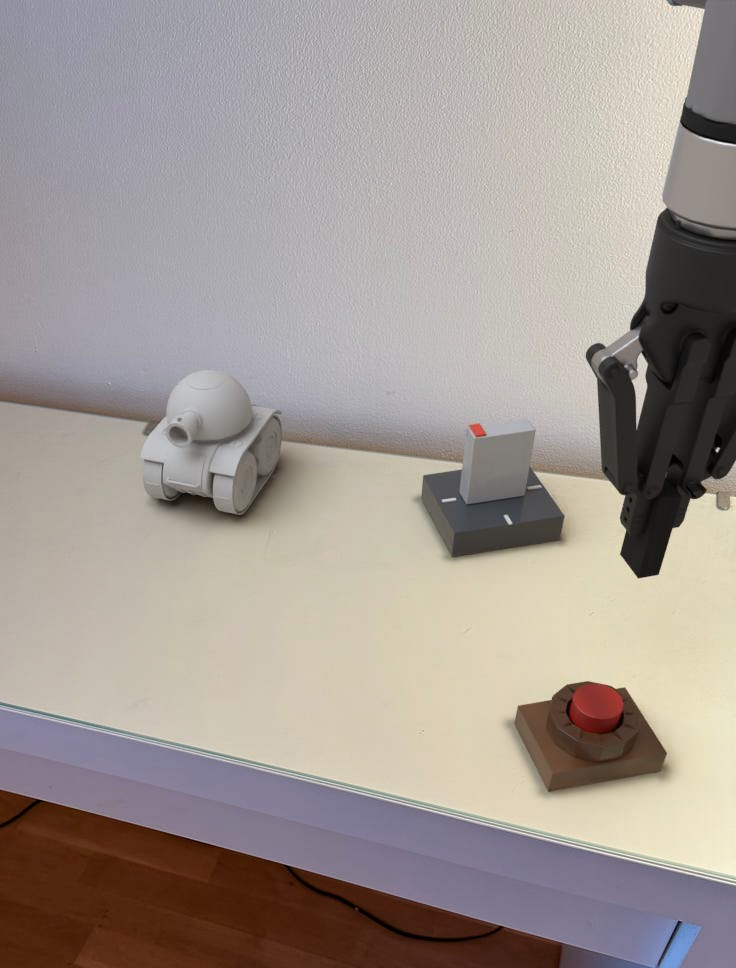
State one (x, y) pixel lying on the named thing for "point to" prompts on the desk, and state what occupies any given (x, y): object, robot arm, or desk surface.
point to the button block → (586, 742)
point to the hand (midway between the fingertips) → (639, 564)
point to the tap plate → (490, 516)
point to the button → (596, 708)
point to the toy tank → (212, 443)
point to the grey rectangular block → (496, 460)
